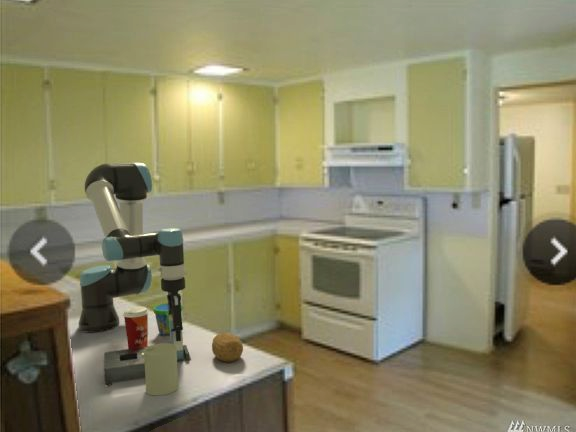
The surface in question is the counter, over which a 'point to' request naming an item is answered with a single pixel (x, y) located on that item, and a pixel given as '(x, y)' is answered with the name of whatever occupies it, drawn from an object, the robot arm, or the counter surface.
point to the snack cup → (163, 318)
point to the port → (124, 365)
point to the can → (161, 369)
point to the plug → (180, 352)
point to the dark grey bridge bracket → (185, 355)
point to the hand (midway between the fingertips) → (176, 344)
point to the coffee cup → (136, 326)
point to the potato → (227, 347)
